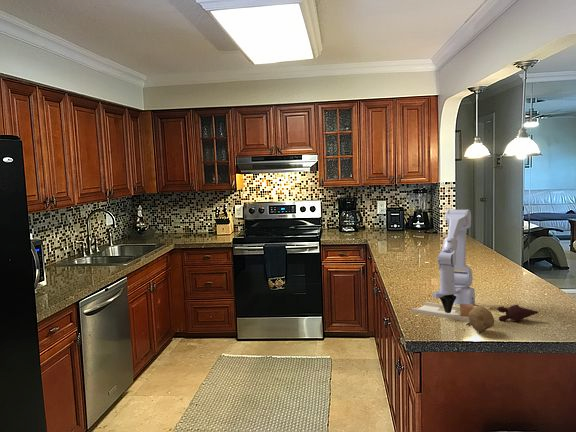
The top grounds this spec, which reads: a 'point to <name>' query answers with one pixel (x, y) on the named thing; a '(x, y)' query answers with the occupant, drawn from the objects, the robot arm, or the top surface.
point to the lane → (434, 311)
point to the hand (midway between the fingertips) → (447, 312)
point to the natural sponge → (481, 318)
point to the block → (465, 309)
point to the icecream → (515, 313)
